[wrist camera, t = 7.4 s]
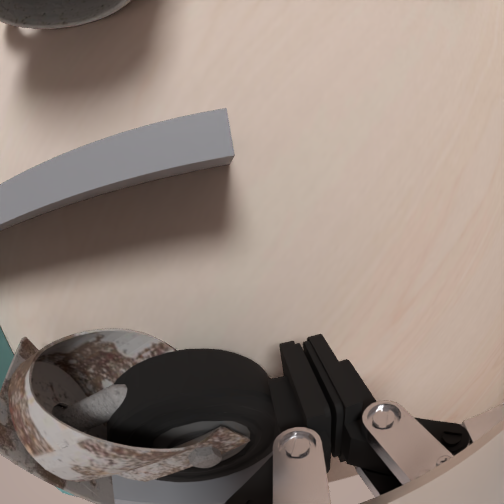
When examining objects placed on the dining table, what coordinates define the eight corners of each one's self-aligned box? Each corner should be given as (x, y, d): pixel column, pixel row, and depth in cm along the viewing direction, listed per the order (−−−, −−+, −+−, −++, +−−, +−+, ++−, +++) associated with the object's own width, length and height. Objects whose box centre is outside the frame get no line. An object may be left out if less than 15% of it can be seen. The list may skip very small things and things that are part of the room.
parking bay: (224, 134, 10) (226, 108, 6) (282, 451, 15) (295, 499, 11) (-41, 228, 9) (-86, 244, 5) (75, 456, 14) (62, 492, 10)
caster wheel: (277, 380, 16) (150, 443, 15) (172, 229, 11) (18, 338, 10) (330, 464, 10) (168, 526, 9) (203, 332, 5) (-20, 444, 4)
